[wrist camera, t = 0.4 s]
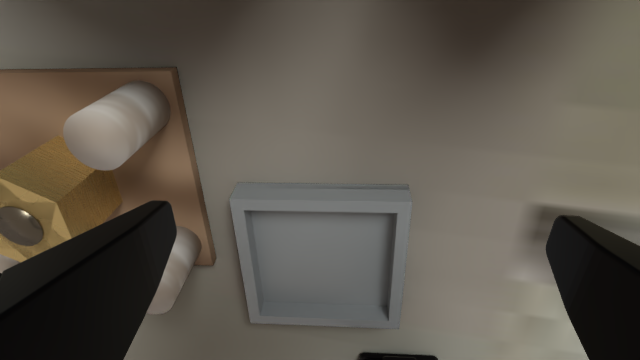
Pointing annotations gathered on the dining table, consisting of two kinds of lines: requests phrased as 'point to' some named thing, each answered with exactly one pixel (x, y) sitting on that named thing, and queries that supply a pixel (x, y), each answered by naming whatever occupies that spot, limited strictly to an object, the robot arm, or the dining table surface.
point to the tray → (323, 252)
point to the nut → (51, 200)
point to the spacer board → (141, 170)
